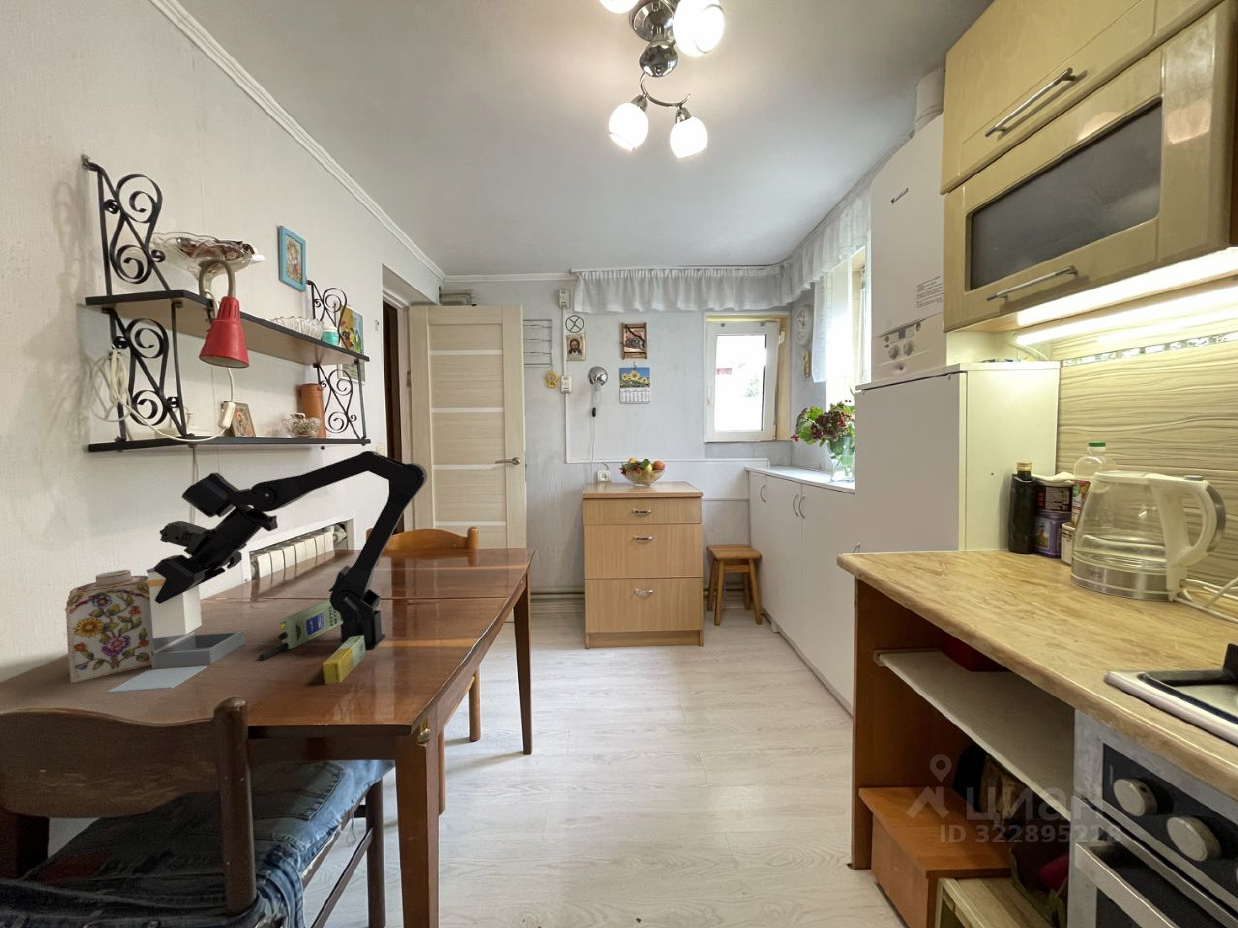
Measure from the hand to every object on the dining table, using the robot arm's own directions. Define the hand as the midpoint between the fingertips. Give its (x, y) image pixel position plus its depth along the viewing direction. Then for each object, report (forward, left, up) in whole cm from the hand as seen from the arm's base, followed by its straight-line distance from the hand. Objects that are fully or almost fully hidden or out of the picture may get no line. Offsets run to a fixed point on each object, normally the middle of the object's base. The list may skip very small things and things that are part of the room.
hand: (166, 597), depth 90 cm
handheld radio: (-19, -12, -14) cm, 26 cm away
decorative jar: (+12, -4, -14) cm, 19 cm away
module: (-1, 0, -7) cm, 7 cm away
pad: (-2, +5, -14) cm, 15 cm away
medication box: (-33, +5, -14) cm, 36 cm away
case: (-2, -5, -14) cm, 15 cm away
